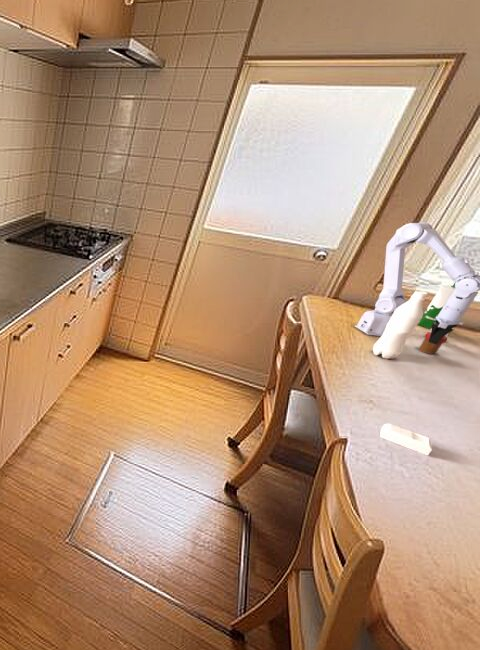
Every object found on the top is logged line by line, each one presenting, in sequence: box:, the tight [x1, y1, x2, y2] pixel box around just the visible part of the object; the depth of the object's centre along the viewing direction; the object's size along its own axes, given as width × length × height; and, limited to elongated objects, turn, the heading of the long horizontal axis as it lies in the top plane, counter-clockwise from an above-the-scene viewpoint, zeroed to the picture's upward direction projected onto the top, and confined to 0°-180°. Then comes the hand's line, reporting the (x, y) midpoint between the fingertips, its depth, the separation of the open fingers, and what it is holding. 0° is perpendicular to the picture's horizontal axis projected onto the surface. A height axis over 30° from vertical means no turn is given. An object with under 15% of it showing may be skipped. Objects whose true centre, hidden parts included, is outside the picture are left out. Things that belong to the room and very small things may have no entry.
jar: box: [418, 337, 444, 355], centre depth 158 cm, size 5×5×6 cm
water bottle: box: [372, 290, 428, 360], centre depth 148 cm, size 7×7×25 cm
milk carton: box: [417, 282, 456, 330], centre depth 178 cm, size 9×9×20 cm
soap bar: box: [380, 423, 433, 457], centre depth 108 cm, size 5×9×3 cm, turn 46°
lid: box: [424, 331, 449, 344], centre depth 157 cm, size 6×6×2 cm
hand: (433, 341), depth 158 cm, fingers closed on lid, 5 cm apart
